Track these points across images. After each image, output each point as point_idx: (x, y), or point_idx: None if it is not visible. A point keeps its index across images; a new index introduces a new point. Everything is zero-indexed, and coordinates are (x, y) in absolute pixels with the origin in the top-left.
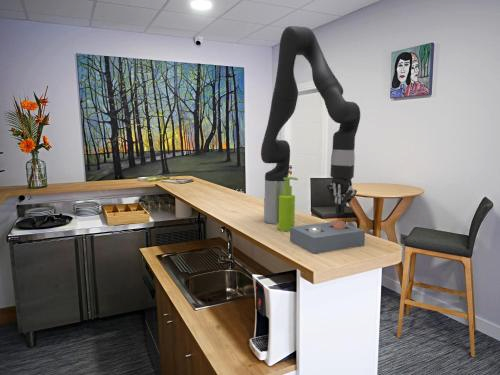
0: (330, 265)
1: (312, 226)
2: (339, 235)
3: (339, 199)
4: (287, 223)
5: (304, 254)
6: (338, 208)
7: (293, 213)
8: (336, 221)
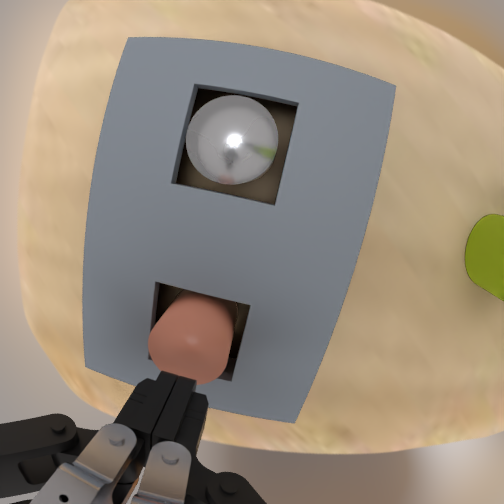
0: (57, 52)
1: (268, 153)
2: (90, 206)
3: (102, 460)
4: (498, 235)
5: (180, 30)
6: (149, 401)
7: None
8: (208, 351)
